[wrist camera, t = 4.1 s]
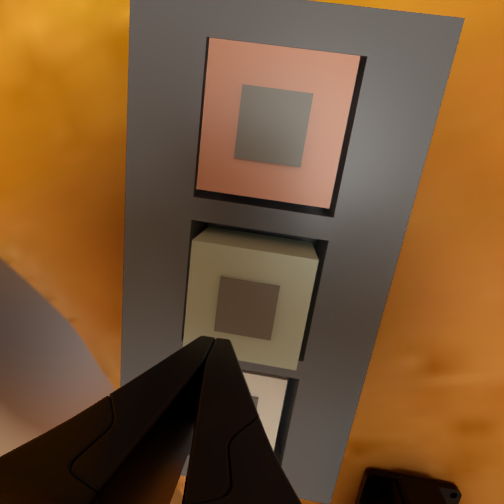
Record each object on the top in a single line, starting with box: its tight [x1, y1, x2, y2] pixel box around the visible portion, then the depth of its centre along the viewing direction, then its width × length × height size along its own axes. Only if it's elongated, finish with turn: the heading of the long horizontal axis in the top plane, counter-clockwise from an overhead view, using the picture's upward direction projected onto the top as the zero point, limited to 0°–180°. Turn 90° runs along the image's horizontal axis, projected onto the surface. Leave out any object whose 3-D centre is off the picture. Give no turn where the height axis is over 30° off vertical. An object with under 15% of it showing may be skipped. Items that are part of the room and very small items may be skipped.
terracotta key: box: [196, 37, 360, 209], centre depth 12 cm, size 5×5×3 cm
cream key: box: [242, 369, 288, 451], centre depth 18 cm, size 5×5×3 cm
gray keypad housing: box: [120, 0, 465, 504], centre depth 17 cm, size 23×12×5 cm, turn 172°
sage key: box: [183, 226, 319, 370], centre depth 14 cm, size 5×5×3 cm
